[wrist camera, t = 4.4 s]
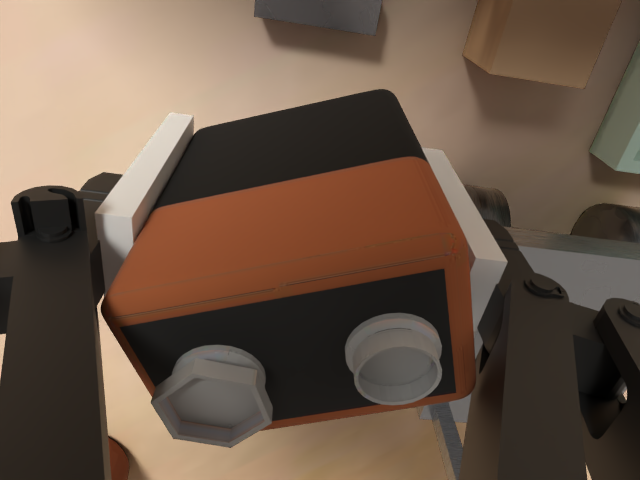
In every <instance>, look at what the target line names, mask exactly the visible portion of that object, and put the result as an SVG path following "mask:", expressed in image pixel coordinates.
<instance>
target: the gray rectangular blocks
mask: <svg viewBox="0 0 640 480" xmlns="http://www.w3.org/2000/svg"><path fill="white" fill-rule="evenodd" d="M381 4H382V0H255V10H254V17H260V18H267V19H273V20H279V21H285V22H292V23H298V24H304V25H311V26H317V27H323V28H329V29H336V30H342V31H348V32H354V33H361V34H367V35H373V36H375V35H376V29H377V24H378V19H379V14H380V9H381Z"/></svg>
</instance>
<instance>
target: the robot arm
mask: <svg viewBox="0 0 640 480" xmlns="http://www.w3.org/2000/svg"><path fill="white" fill-rule="evenodd" d="M193 136H194V116H193V115H186V114H179V113H172V112H170V113H169V114H168V116H167V117H166V118H165V120H164V121H163V122H162V124H161V125H160V126H159V128H158V129H157V130H156V132H155V133H154V134H153V136H152V137H151V138H150V140H149V141H148V142H147V144H146V145H145V146H144V148H143V149H142V150H141V152H140V153H139V154H138V156H137V157H136V159H135V160H134V161H133V163H132V164H131V165H130V167H129V168H128V169H127V171H126V172H125V173H124V175H121V174H113V173H105V172H103V173H101V174H99V175H97V176H95V177H93V178H91V179H89V180H88V181H87V182H86V183H85V184H84V186H83V187H82V188H81V190H80V191H76V190H74V189H73V188H68V187H64V186H41V187H34V188H31V189H28V190H25V191H22V192H21V193H19V194H17V195H16V196H14V198H13V200H12V201H11V205H12V210H13V215H14V219H15V224H16V228H17V233H18V240H17V241H11V242H1V243H0V334H6V340H5V348H4V356H3V364H2V372H1V380H0V480H112V479H111V467H110V455H109V443H108V431H107V418H106V406H105V394H104V382H103V370H102V357H101V345H100V333H99V321H98V312H97V305H98V303H99V301H100V299H101V298H102V296H103V294H104V297H105V295H106V293H107V291H108V290H109V288H110V286H111V284H112V282H113V280H114V279H115V277H116V275H117V273H118V271H119V270H120V268H121V266H122V264H123V262H124V261H125V259H126V257H127V255H128V253H129V251H130V250H131V248H132V246H133V244H134V242H135V241H136V239H137V237H138V235H139V233H140V232H141V230H142V228H143V226H144V224H145V223H146V221H147V219H148V217H149V215H150V213H151V212H152V210H153V208H154V206H155V204H156V203H157V201H158V199H159V197H160V195H161V194H162V192H163V190H164V188H165V186H166V184H167V183H168V181H169V179H170V177H171V175H172V174H173V172H174V170H175V168H176V166H177V165H178V163H179V161H180V159H181V157H182V156H183V154H184V152H185V150H186V148H187V146H188V145H189V143H190V141H191V139H192V138H193ZM421 148H422V150H423V152H424V154H425V156H426V158H427V160H428V162H429V164H430V166H431V168H432V170H433V172H434V174H435V176H436V178H437V180H438V182H439V184H440V186H441V188H442V190H443V192H444V194H445V196H446V198H447V200H448V202H449V204H450V206H451V208H452V210H453V212H454V214H455V216H456V218H457V220H458V222H459V224H460V226H461V228H462V231H463V233H464V235H465V237H466V240H467V243H468V251H469V265H470V281H471V298H472V314H473V330H474V337H475V335H476V333H477V331H479V334H480V336H481V338H482V341H483V344H482V346H481V348H480V350H479V353H478V355H477V357H476V359H475V363H476V384H475V387H474V389H473V391H472V393H471V399H470V406H469V413H468V419H467V426H466V433H465V439H464V446H463V453H462V459H461V466H460V473H459V479H458V480H587V473H586V465H587V468H588V470H589V473H590V476H591V479H592V480H640V304H639V303H637V302H634V301H630V300H626V299H623V298H610V299H607V300H606V301H605V303H604V304H603V306H602V308H601V309H600V311H597V310H594V309H590V308H587V307H584V306H581V305H577V304H574V303H572V302H569V297H568V294H567V292H566V290H565V289H564V288H563V287H562V286H561V285H560V284H559V283H557V282H555V281H554V280H552V279H551V278H549V277H546V276H544V275H542V274H538V273H535V272H534V271H533V269H532V268H531V266H530V265H529V263H528V262H527V260H526V258H525V257H524V255H523V254H522V252H521V251H519V248H518V246H517V245H516V243H515V242H514V240H513V238H512V237H511V235H510V234H509V232H508V231H507V230H506V229H505V228H504V227H503V226H501V225H500V224H499V223H498V222H496V221H495V220H489V219H482V217H481V215H480V213H479V212H478V210H477V208H476V207H475V205H474V203H473V201H472V200H471V198H470V196H469V195H468V193H467V191H466V189H465V188H464V186H463V184H462V183H461V181H460V179H459V178H458V176H457V174H456V172H455V171H454V169H453V167H452V166H451V164H450V162H449V160H448V159H447V157H446V155H445V154H444V152H443V150H438V149H431V148H424V147H421ZM625 387H627V401H626V399H625V397H624V395H623V393H622V391H623V390H624V389H625ZM585 462H586V463H585Z"/></svg>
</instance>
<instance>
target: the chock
mask: <svg viewBox="0 0 640 480" xmlns="http://www.w3.org/2000/svg"><path fill="white" fill-rule="evenodd" d="M621 2H622V0H478V3H477V6H476V10H475V13H474V17H473V20H472V24H471V27H470V31H469V34H468V37H467V41H466V44H465V48H464V51H463V56H464V57H466V58H467V59H469V60H470V61H472V62H473V63H475V64H476V65H477V66H479V67H480V68H482V69H483V70H485V71H486V72H488V73H489V74H493V75H500V76H506V77H512V78H518V79H525V80H531V81H537V82H543V83H549V84H556V85H562V86H568V87H574V88H581V89H584V88H585V86H586V84H587V81H588V79H589V77H590V74H591V72H592V70H593V67H594V65H595V63H596V60H597V58H598V56H599V53H600V51H601V49H602V46H603V44H604V42H605V39H606V37H607V35H608V32H609V30H610V27H611V25H612V23H613V20H614V18H615V16H616V13H617V11H618V9H619V6H620V4H621Z"/></svg>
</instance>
